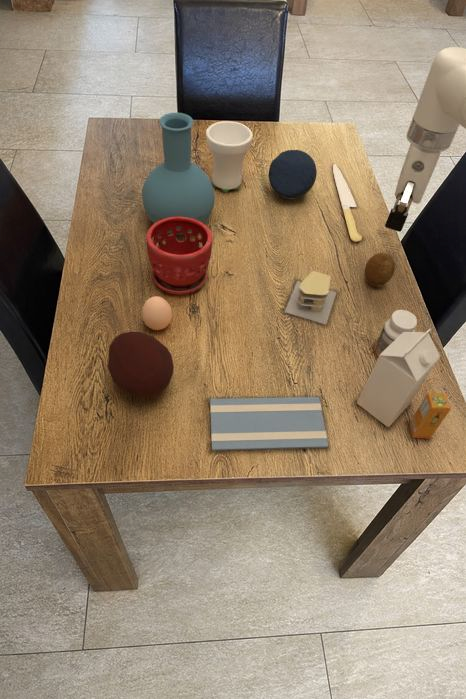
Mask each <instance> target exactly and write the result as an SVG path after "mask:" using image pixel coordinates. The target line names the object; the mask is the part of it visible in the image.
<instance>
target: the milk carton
mask: <svg viewBox="0 0 466 699" xmlns="http://www.w3.org/2000/svg"><path fill="white" fill-rule="evenodd" d="M431 330H432V329H431V328H428V329H427V331H415V332H403V333H402V334H401V335H400V336H399V337H398V338H397V339H396V340H394V341H393V342H392V343H391V344H390V345H389V346H388V347H387V348H386V349H385V350H384V351H383V352H382V353H381V354H380V355H379V356H378V358H377V360H376V361H375V363H374V366H373V368H372V369H371V372H370V374H369V376H368V378H367V380H366V382H365V384H364V386H363V388H362V391H361V393H360V395H359V396H358V399H357V401H356V404H357V405H358V406H359V407H361V408H362V409H363V410H364V411H366V412H367V413H368V414H370V415H371V416H372V417H374V418H375V419H376V420H378V421H379V422H380V423H381V424H383V425H384V426H385V427H387V428H390V427H391V425H392V424H393V423H394V422H395V421H396V420H397V419H398V418H399V417H400V416H401V415H402V413H404V412H405V410H406V409H407V408H408V407H409V406H410V405H411V403H412V401H413V400H414V398H415V397H416V395H417V394H418V392H419V391H420V389H421V388H422V386H423V385H424V383H425V381H426V380H427V378H428V377H429V375H430V374H431V372H432V370H433V369H434V368H435V366H436V364H437V363H438V361H439V360H440V358H441V355H440V353H439V350H438V349H437V347H436V345H435V343H434V341H433V338H432V337H431V335H430V332H431Z"/></svg>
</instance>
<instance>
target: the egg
mask: <svg viewBox="0 0 466 699" xmlns="http://www.w3.org/2000/svg"><path fill="white" fill-rule="evenodd" d="M141 317H142V321H143V323H144V324H145V326H147V327H148V328H149V329H151V330H155V331H160V330H163V329H166V328H167V327H168V325H169V324H170V323H171V321H172V317H173V311H172V308H171V304H170V303H169V302H168V301H167V300H166V299H165V298H163V297H162V296H158V295H154V296H151V297H150V298H148V299H146V301H145V302H144V303H143V305H142V309H141Z"/></svg>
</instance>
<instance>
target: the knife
mask: <svg viewBox="0 0 466 699" xmlns="http://www.w3.org/2000/svg"><path fill="white" fill-rule="evenodd" d="M332 172H333V178H334V182H335V186H336V189H337V193H338V197H339V200H340V205H341V208H342V212H343V215H344V218H345V219H344V220H345V222H346V226H347V230H348V234H349V237H350V240H351V241H352V242H354V243H358V242H361V241H362V239H363V236H362V235H361V234H360V233H359V232H358V230H357V224H356V221H355V218H354V216H353V213H352V210H351V208H357V207H358V206H357V203H356V201H355V198H354V197H353V193H352V191H351V190H350V187H349V185H348V183H347V180H346V179H345V177H344V175H343V173H342V171H341V169H340V168H339V166H338V165H337V164H336V163H333V166H332Z"/></svg>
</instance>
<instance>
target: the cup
mask: <svg viewBox="0 0 466 699" xmlns="http://www.w3.org/2000/svg"><path fill="white" fill-rule="evenodd" d="M253 136H254V135H253V132H252V130H251V128H249V127H248V126H247V125H245V124H243V123H240V122H237V121H233V120H222V121H218V122H214V123H212V124H210V126H208V127H207V128H206V130H205V142H206V145H207V148H208V149H209V152H210V155H211V159H212V173H211V184H212V187H213V188H215V189H216V188H217V189H220V190H221V191H222V192H223V193H227V192H229V191H230V190H234V191H238V190H239V188H240V186H241V184H242V180H243V176H242V175H243V174H242V170H243V164H244V160H245V158H246V155H247V153H248V151H249V150H250V148H251V147H252V145H253Z"/></svg>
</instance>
